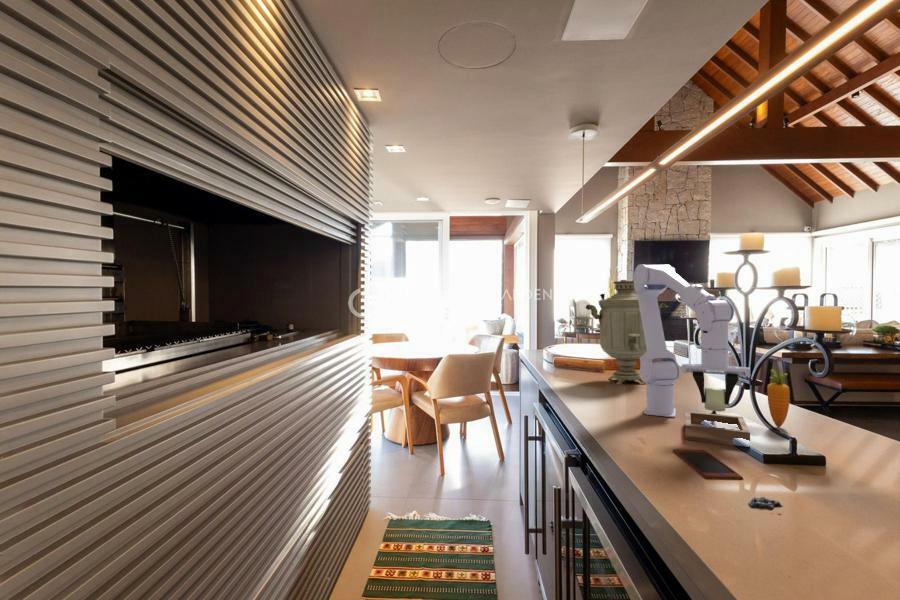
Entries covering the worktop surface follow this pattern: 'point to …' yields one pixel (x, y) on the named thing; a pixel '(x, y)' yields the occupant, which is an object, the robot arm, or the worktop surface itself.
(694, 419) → the walnut tray
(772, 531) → the worktop surface
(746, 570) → the worktop surface
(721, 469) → the smartphone
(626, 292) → the samovar
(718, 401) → the green cylinder
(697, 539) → the worktop surface
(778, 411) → the carrot
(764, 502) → the blueberries
